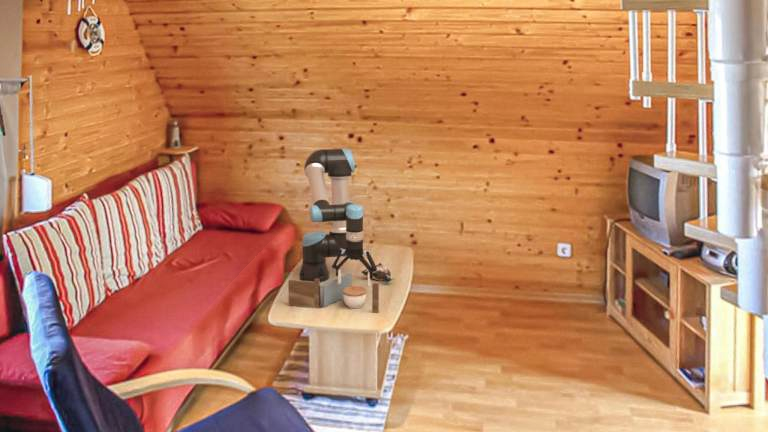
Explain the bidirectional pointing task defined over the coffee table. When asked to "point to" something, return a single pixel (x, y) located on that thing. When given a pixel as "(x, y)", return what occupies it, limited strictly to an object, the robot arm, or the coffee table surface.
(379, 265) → the decorative duck model
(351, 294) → the lidded jar
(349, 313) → the coffee table surface
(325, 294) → the door
